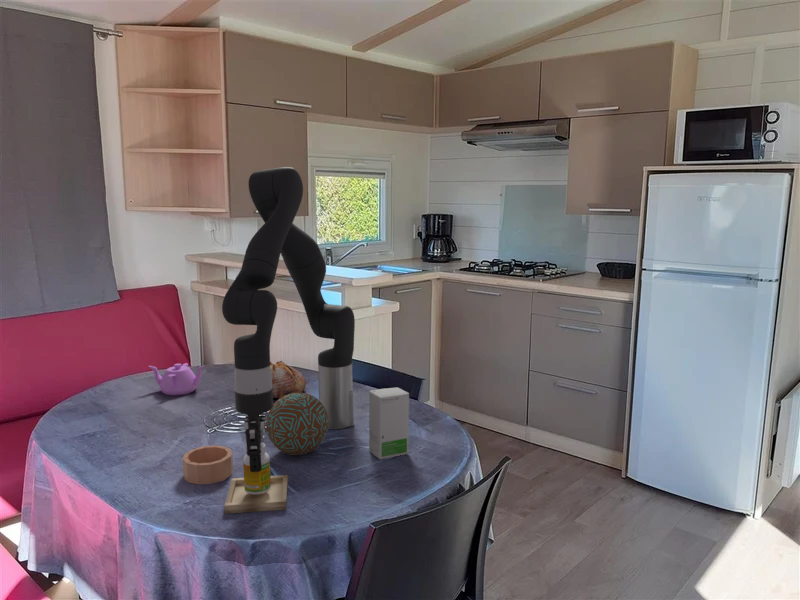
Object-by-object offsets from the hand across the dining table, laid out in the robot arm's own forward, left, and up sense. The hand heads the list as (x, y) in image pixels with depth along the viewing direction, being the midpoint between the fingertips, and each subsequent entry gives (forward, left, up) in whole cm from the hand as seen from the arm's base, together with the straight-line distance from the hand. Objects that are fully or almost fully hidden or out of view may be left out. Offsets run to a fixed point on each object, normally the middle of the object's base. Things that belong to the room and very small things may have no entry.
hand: (257, 464), depth 130 cm
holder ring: (+12, -13, -7) cm, 19 cm away
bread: (-1, -71, -8) cm, 71 cm away
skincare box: (-30, -19, -8) cm, 36 cm away
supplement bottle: (0, 0, -6) cm, 6 cm away
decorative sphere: (-8, -22, -8) cm, 25 cm away
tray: (0, 0, -7) cm, 7 cm away
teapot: (+31, -76, -8) cm, 82 cm away
